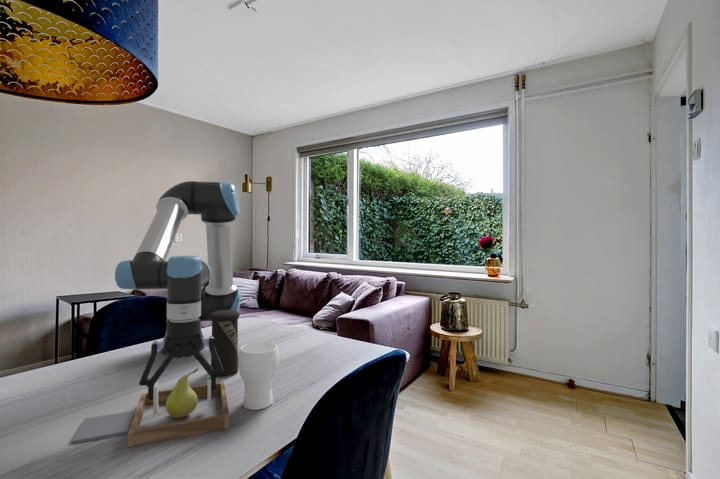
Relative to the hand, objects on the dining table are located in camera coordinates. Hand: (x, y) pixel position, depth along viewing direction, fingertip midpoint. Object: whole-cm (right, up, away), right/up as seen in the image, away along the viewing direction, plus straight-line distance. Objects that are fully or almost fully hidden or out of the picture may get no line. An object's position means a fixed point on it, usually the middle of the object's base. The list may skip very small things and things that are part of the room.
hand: (183, 407), depth 88 cm
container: (0, -2, +27) cm, 27 cm away
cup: (+16, -3, +7) cm, 18 cm away
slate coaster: (-15, -2, -6) cm, 16 cm away
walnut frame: (0, -2, 0) cm, 2 cm away
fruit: (0, -2, 0) cm, 2 cm away
